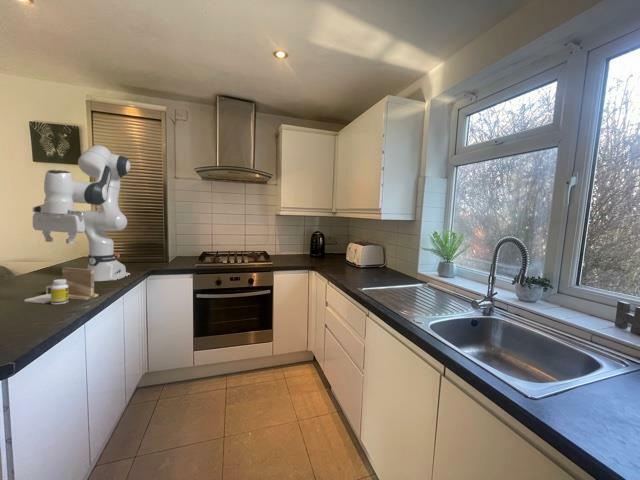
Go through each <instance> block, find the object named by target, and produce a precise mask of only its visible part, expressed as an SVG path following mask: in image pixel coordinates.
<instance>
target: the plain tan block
mask: <svg viewBox="0 0 640 480" xmlns="http://www.w3.org/2000/svg"><path fill="white" fill-rule="evenodd" d="M53 285H54V283H52V284H49V285H46V286H45V293H46V294H51V287H52V286H53Z"/></svg>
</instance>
